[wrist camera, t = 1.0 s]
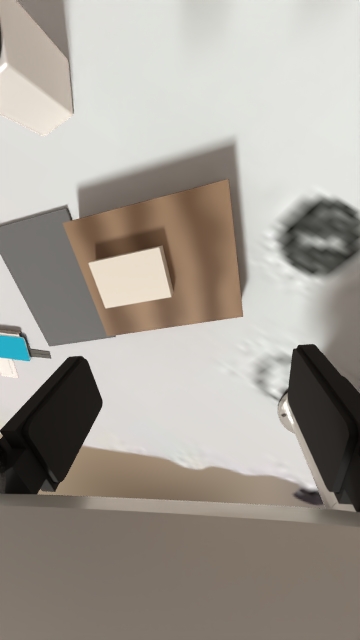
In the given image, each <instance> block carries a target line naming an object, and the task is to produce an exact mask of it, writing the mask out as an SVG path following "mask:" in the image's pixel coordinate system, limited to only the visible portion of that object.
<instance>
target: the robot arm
mask: <svg viewBox="0 0 360 640" xmlns="http://www.w3.org/2000/svg"><path fill="white" fill-rule="evenodd" d="M101 408H102V398H101V395H100V393H99V390H98V387H97V385H96V382H95V379H94V377H93V374H92V371H91V369H90V366H89V363H88V361H87V360H86V359H84V357H82V356H74V357H69V358H67V359H66V360H65V361H64V363H63V364H62V365H61V366H60V367H59V368H58V369H57V370H56V371H55V372H54V373H53V374H52V375H51V376H50V378H49V379H48V380H47V381H46V382H45V383H44V384H43V385H42V386H41V387H40V388H39V389H38V390H37V391H36V392H35V394H34V395H33V396H32V397H31V398H30V399H29V400H28V401H27V402H26V403H25V404H24V405H23V406H22V407H21V409H20V410H19V411H18V412H17V413H16V414H15V415H14V416H13V417H12V418H11V419H10V420H9V421H8V422H7V424H6V425H5V426H4V427H3V428H2V429H1V430H0V432H1V434H2V435H3V437H2V438H1V439H0V640H360V393H359V392H358V391H357V390H356V389H355V388H354V387H353V385H352V384H351V383H350V382H349V381H348V380H347V379H346V378H345V377H343V376H341V375H340V373H339V372H338V371H337V370H336V369H335V368H334V366H333V365H332V364H331V363H330V362H329V361H328V359H327V358H326V357H325V356H324V355H323V353H322V352H321V351H320V350H319V349H318V348H317V346H316V345H314V344H309V345H298V347H297V349H293V354H292V362H291V370H290V379H289V387H288V393H287V394H286V395H285V396H284V397H283V398H282V399H281V401H280V403H279V406H278V416H279V419H280V421H281V423H282V425H283V426H284V427H285V428H286V429H287V430H289V431H290V432H292V433H294V434H295V435H296V437H297V440H298V442H299V445H300V447H301V449H302V452H303V454H304V457H305V459H306V462H307V464H308V466H309V469H310V471H311V474H312V476H313V479H314V481H315V484H316V486H317V488H318V491H319V493H320V496H321V498H322V501H323V503H324V505H325V508H326V509H320V508H306V507H291V506H277V505H258V504H238V503H219V502H218V503H217V502H199V501H178V500H155V499H135V498H111V497H88V496H87V497H86V496H63V495H38V494H37V493H38V491H39V490H40V489H41V490H42V491H51V492H55V491H56V489H57V487H58V485H59V483H60V482H62V481H63V480H64V478H65V477H66V475H67V473H68V471H69V469H70V467H71V465H72V464H73V462H74V460H75V458H76V456H77V454H78V452H79V449H80V448H81V446H82V444H83V442H84V440H85V439H86V437H87V435H88V433H89V431H90V429H91V427H92V425H93V423H94V421H95V419H96V417H97V416H98V414H99V412H100V410H101Z"/></svg>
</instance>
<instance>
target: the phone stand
mask: <svg viewBox="0 0 360 640" xmlns="http://www.w3.org/2000/svg"><path fill="white" fill-rule="evenodd" d="M19 333H21V331H20V332H19V331H13V330H11V331H10V330H4V329H0V372H1V375H2V376H6V377H14V378H19V377H18V374H17V371H16V368H15V365H14V362H13V359H15V360H23V361H30V360H31V359H30V356H32V357H42V358H50V359H51V357H50V353H49V352H47V351H39V350H35V349H30V346H29V344H26V342H25V339H24V338H23V337H20V336H19ZM42 354H46V355H42Z"/></svg>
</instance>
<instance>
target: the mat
mask: <svg viewBox="0 0 360 640" xmlns="http://www.w3.org/2000/svg"><path fill="white" fill-rule="evenodd" d="M68 221H72V219H71V217H70V214H69V211H68V209H67V208H65V209H61V210H58V211H54V212H51V213H47V214H43V215H40V216H36V217H33V218H29V219H26V220H22V221H18V222H15V223H11V224H8V225H4V226H1V227H0V254H1V256H2V258H3V260H4V262H5V264H6V266H7V267H8V269H9V271H10V273H11V275H12V277H13V279H14V281H15V283H16V284H17V286H18V288H19V290H20V292H21V294H22V296H23V298H24V299H25V301H26V303H27V305H28V307H29V309H30V311H31V313H32V315H33V316H34V318H35V320H36V322H37V324H38V326H39V328H40V330H41V332H42V333H43V335H44V337H45V339H46V341H47V343H48V345H49V346H56V345H63V344H70V343H77V342H84V341H90V340H97V339H104V338H111V337H115V336H116V335H114V336H107V334H106V331H105V329H104V326H103V324H102V321H101V319H100V316H99V314H98V311H97V309H96V306H95V304H94V301H93V299H92V296H91V294H90V291H89V289H88V286H87V284H86V281H85V279H84V276H83V274H82V271H81V269H80V266H79V264H78V261H77V259H76V256H75V253H74V251H73V248H72V246H71V243H70V241H69V238H68V236H67V233H66V231H65V228H64V226H63V223H65V222H68Z"/></svg>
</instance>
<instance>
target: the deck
mask: <svg viewBox="0 0 360 640" xmlns="http://www.w3.org/2000/svg"><path fill="white" fill-rule="evenodd" d="M63 226H64V228H65V231H66V233H67V236H68V238H69V241H70V243H71V246H72V248H73V251H74V253H75V256H76V259H77V261H78V264H79V266H80V269H81V271H82V274H83V276H84V279H85V281H86V284H87V286H88V289H89V291H90V294H91V296H92V299H93V301H94V304H95V306H96V309H97V311H98V314H99V316H100V319H101V321H102V324H103V326H104V329H105V331H106V334H107V336H114V335H121V334H127V333H134V332H141V331H148V330H155V329H161V328H168V327H175V326H182V325H189V324H196V323H202V322H209V321H216V320H223V319H230V318H237V317H243V310H242V301H241V291H240V282H239V273H238V263H237V254H236V245H235V235H234V226H233V217H232V208H231V198H230V189H229V180H228V179H226V180H223V181H219V182H215V183H211V184H208V185H204V186H200V187H196V188H193V189H189V190H185V191H181V192H178V193H174V194H170V195H166V196H163V197H159V198H155V199H151V200H147V201H144V202H140V203H136V204H132V205H129V206H125V207H121V208H117V209H114V210H110V211H106V212H102V213H99V214H95V215H91V216H87V217H83V218H80V219H76V220H72V221H68V222H65V223H63ZM162 245H163V250H164V254H165V258H166V262H167V267H168V271H169V275H170V279H171V283H172V288H173V294H172V297H169V298H163V299H157V300H152V301H146V302H140V303H134V304H129V305H123V306H117V307H111V308H105V306H104V303H103V301H102V298H101V295H100V293H99V290H98V288H97V285H96V282H95V280H94V277H93V274H92V272H91V269H90V267H89V264H88V263H89V262H92V261H95V260H99V259H103V258H108V257H112V256H117V255H121V254H126V253H130V252H135V251H139V250H144V249H148V248H153V247H157V246H162Z"/></svg>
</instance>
